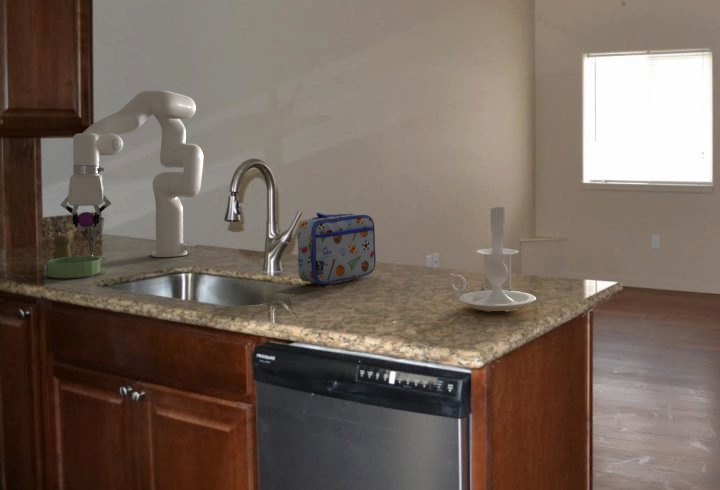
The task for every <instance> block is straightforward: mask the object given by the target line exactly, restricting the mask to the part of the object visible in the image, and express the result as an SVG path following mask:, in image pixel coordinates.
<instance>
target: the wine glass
mask: <svg viewBox="0 0 720 490" xmlns="http://www.w3.org/2000/svg"><path fill="white" fill-rule="evenodd" d="M78 227H79V231H80V234H81V236H82V237H83V238H84V239H85V240H86V241H87V242H88V244H89V247H90V248H89V250H90V255H89V256H94V247H95V243H96V241H97V240H98V239H99V238H100V236H101V235H102V234H103V231H104V227H105V217H100V216H99V224H97V227H95V226H94V223H93V225H91V226H90V227H82V226H80V225H79V224H78ZM99 258H100V261H102V260H103V258H102V257H99Z"/></svg>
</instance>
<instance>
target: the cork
mask: <svg viewBox="0 0 720 490" xmlns="http://www.w3.org/2000/svg"><path fill="white" fill-rule="evenodd" d="M71 242H72V237H71V236H70V235H69V234H59V235H56V236H55V237H54V238H53V243H54V245H55V247H54V254H53V259H56V258H63V257H72V253H71V246H70V245H71Z"/></svg>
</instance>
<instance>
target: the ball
mask: <svg viewBox="0 0 720 490" xmlns="http://www.w3.org/2000/svg"><path fill="white" fill-rule="evenodd" d="M93 223H94V214H93V213H91V212H89V211H83V212H81V213H80V214H78V226H79V225H80V226H82V227H90V226H91V225H93ZM80 226H79V227H80Z"/></svg>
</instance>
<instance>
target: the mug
mask: <svg viewBox="0 0 720 490" xmlns="http://www.w3.org/2000/svg"><path fill="white" fill-rule="evenodd" d="M491 248H492V247H490V248H489V247H488V248H487V249H491ZM503 249H508V248H507V247H503ZM483 258H484V259H483V261H484V265H483V269H484V270H483V288H482V289H483V291H486V290H493V284H492V283H491V282H490V281H489V279H488V277H487V270H488V268H489V266H490V264H491V258H490V257H488V256H486V255H483ZM504 264H505V266H506V267H507V270H508V277H507V279H506V281H505V282H504V283H503V284H502V288H503V289H502V290H508V291H509V290H510V291H512V289H513V288H512V255H510V256H507V257H506V258H505V259H504ZM509 286H511V287H509ZM486 287H488V288H486ZM505 287H509V288H505Z"/></svg>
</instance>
